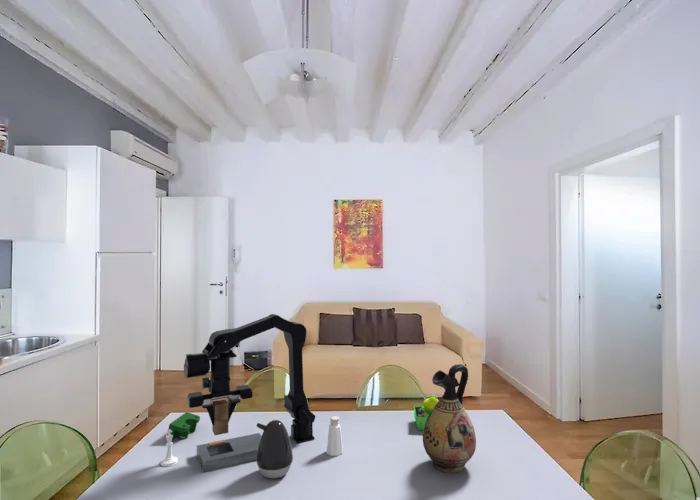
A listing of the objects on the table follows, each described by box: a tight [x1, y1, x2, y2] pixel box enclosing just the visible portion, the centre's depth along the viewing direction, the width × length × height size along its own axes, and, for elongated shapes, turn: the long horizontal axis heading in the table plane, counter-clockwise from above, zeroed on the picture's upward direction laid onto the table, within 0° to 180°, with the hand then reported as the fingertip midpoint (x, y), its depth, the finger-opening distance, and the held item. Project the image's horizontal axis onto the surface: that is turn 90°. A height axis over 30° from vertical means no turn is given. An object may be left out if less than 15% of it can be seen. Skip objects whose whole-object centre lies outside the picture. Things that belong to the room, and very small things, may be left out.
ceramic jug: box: [422, 363, 477, 474], centre depth 125 cm, size 17×15×30 cm
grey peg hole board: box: [196, 432, 262, 473], centre depth 131 cm, size 20×12×3 cm, turn 118°
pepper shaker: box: [326, 415, 344, 457], centre depth 134 cm, size 5×5×11 cm
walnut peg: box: [211, 398, 229, 436], centre depth 130 cm, size 4×4×9 cm
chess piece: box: [160, 429, 179, 468], centre depth 127 cm, size 5×5×10 cm
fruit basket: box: [413, 394, 439, 431], centre depth 155 cm, size 11×9×11 cm
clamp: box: [166, 411, 201, 441], centre depth 148 cm, size 12×6×9 cm, turn 167°
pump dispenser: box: [256, 419, 294, 479], centre depth 121 cm, size 10×10×15 cm
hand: (220, 423), depth 130 cm, fingers closed on walnut peg, 4 cm apart
